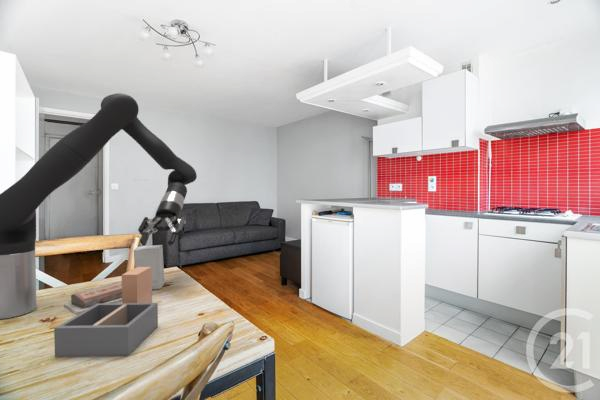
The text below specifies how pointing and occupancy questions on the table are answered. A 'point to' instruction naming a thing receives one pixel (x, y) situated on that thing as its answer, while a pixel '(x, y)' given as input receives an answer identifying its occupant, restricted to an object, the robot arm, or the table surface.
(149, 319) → the grey open tray
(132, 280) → the salmon rectangular block
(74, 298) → the packaged product
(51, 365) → the table surface
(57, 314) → the table surface
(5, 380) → the table surface
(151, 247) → the skincare box
